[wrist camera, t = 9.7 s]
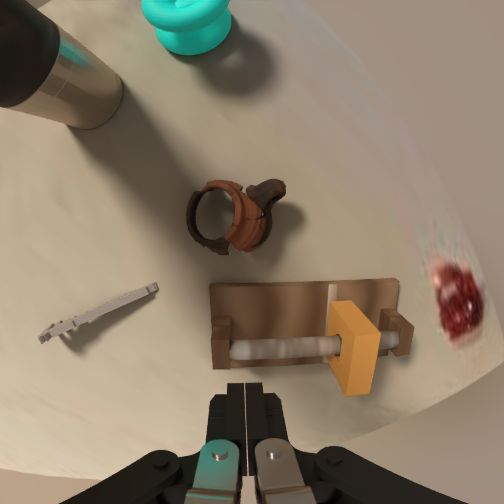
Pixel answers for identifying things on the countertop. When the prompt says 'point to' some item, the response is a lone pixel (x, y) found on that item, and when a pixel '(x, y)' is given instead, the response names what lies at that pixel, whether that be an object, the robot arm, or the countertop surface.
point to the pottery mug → (240, 214)
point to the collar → (353, 347)
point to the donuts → (189, 23)
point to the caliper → (95, 313)
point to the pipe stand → (298, 321)
